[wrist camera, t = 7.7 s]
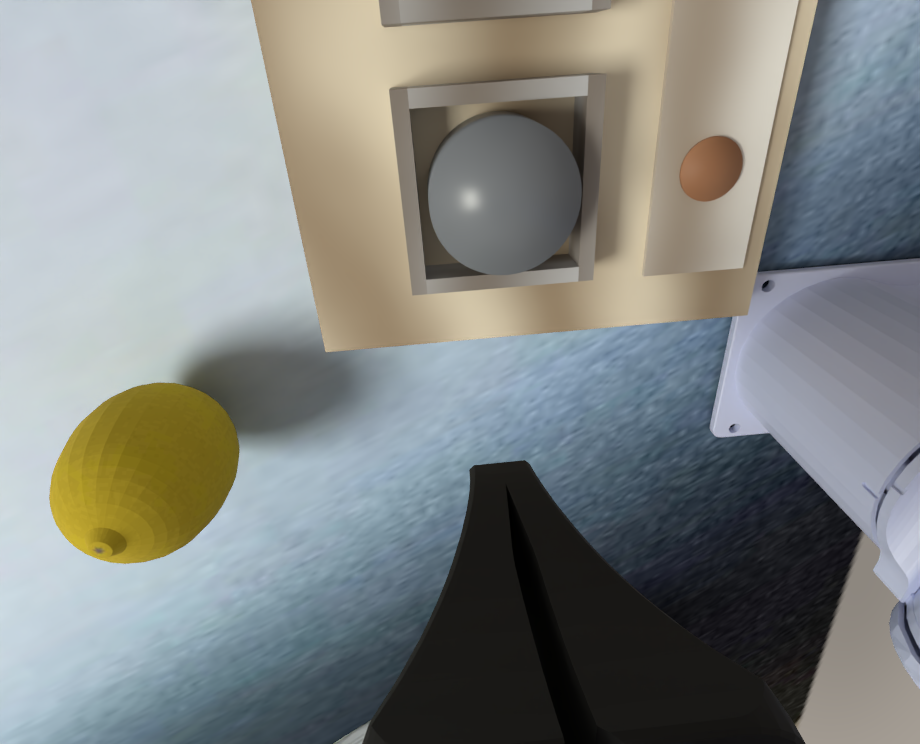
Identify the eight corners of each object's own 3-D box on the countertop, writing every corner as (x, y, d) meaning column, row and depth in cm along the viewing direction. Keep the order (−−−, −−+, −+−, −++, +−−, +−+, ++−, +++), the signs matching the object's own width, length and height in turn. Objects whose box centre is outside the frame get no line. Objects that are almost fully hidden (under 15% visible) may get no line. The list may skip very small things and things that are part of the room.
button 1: (567, 105, 16) (585, 111, 14) (563, 249, 18) (577, 268, 17) (420, 116, 16) (421, 123, 14) (433, 260, 18) (435, 281, 17)
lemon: (249, 347, 22) (172, 478, 15) (268, 455, 25) (212, 608, 18) (106, 348, 22) (-40, 483, 15) (142, 457, 24) (34, 615, 17)
